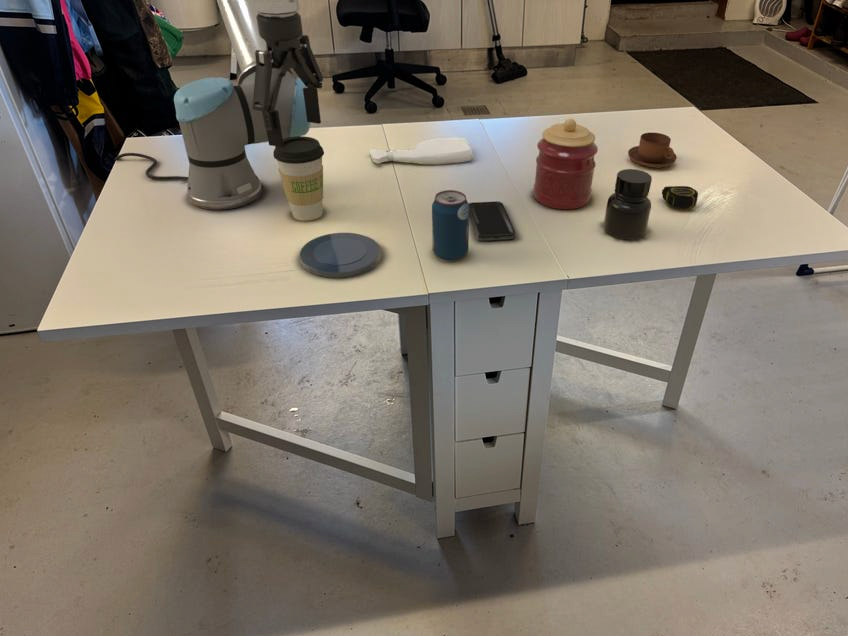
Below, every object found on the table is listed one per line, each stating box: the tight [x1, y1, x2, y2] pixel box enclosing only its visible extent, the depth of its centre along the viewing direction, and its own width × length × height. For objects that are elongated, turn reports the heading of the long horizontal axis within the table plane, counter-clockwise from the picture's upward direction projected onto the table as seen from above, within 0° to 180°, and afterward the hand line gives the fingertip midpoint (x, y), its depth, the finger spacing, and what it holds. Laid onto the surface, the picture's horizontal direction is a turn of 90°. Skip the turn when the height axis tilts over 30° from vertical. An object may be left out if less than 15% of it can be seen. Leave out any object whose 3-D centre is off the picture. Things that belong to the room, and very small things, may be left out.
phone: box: [468, 200, 516, 242], centre depth 138 cm, size 8×1×15 cm
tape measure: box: [661, 185, 699, 210], centre depth 146 cm, size 7×7×4 cm
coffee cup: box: [272, 135, 325, 222], centre depth 134 cm, size 10×10×15 cm
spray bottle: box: [369, 137, 474, 166], centre depth 163 cm, size 3×11×24 cm
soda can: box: [431, 189, 470, 263], centre depth 124 cm, size 7×7×12 cm
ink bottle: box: [603, 168, 653, 240], centre depth 134 cm, size 10×9×12 cm
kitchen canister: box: [533, 118, 599, 210], centre depth 143 cm, size 13×13×18 cm
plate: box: [299, 232, 381, 279], centre depth 125 cm, size 15×15×1 cm
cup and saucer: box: [627, 132, 678, 168], centre depth 164 cm, size 12×12×6 cm
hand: (296, 133), depth 128 cm, fingers open, 13 cm apart
